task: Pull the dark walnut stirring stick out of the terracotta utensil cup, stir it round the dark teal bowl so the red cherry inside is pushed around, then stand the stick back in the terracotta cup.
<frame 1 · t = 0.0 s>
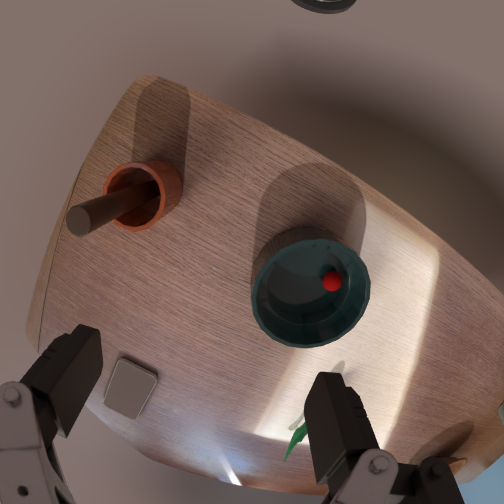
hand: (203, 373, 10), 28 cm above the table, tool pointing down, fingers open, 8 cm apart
utensil cup: (155, 187, 35), on the table
stirring stick: (154, 188, 35), point 1 cm above the table, touching utensil cup
smartphone: (129, 389, 46), on the table
mixing bowl: (304, 278, 39), on the table
bowl: (427, 464, 61), on the table
knife: (307, 414, 48), on the table
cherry: (332, 281, 37), point 2 cm above the table, touching mixing bowl
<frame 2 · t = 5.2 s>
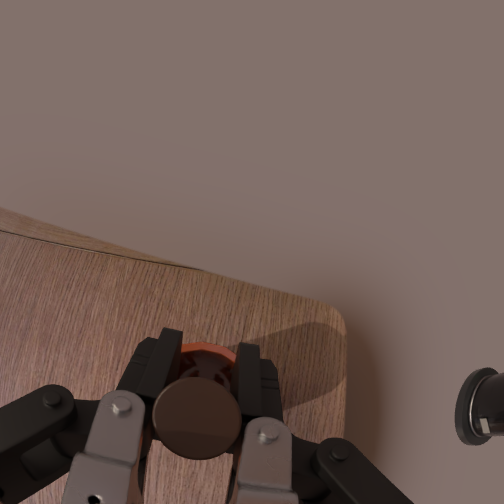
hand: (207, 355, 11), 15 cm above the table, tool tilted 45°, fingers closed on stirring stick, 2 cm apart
utensil cup: (202, 394, 23), on the table
stirring stick: (202, 395, 22), point 1 cm above the table, touching gripper, utensil cup
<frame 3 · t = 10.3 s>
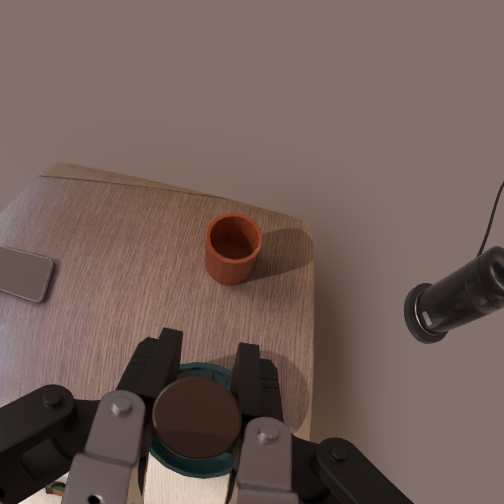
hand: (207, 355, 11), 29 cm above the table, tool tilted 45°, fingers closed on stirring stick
utensil cup: (229, 262, 44), on the table
stirring stick: (202, 395, 22), point 15 cm above the table, touching gripper
smartphone: (17, 273, 37), on the table
mixing bowl: (200, 417, 34), on the table
knife: (42, 476, 24), on the table
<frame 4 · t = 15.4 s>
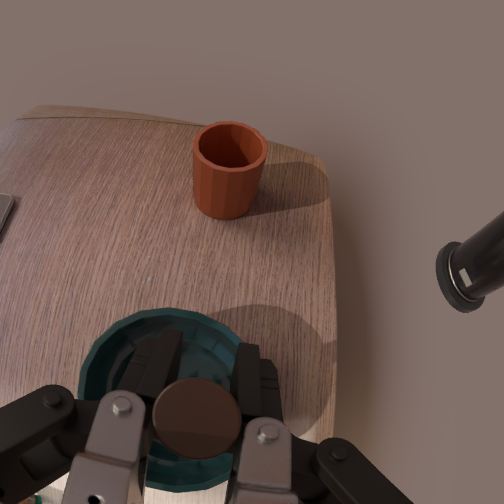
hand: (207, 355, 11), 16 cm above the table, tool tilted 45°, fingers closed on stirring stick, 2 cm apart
utensil cup: (223, 194, 34), on the table
stirring stick: (202, 395, 22), point 2 cm above the table, touching gripper
mixing bowl: (177, 399, 23), on the table
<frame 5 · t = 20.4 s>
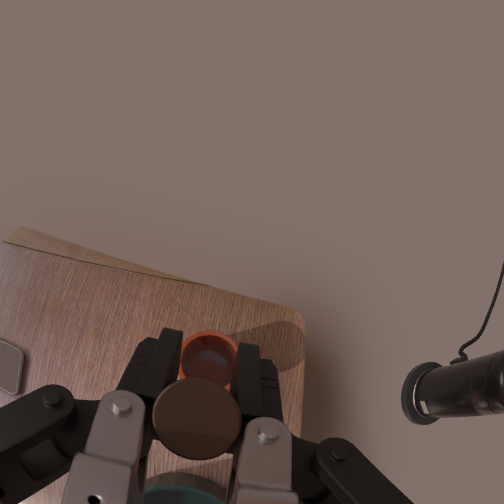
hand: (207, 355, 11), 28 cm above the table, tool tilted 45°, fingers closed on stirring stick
utensil cup: (208, 367, 37), on the table
stirring stick: (202, 395, 22), point 14 cm above the table, touching gripper
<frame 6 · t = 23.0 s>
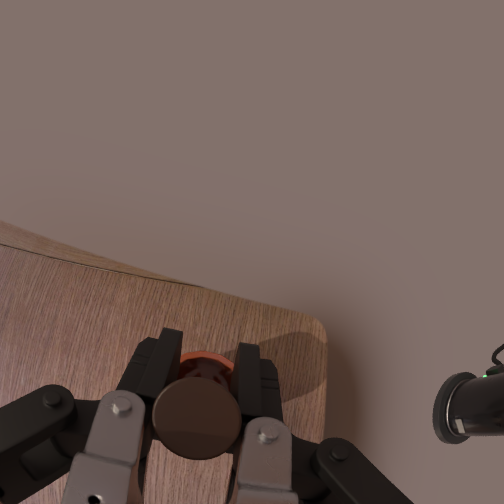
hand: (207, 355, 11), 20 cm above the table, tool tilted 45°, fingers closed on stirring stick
utensil cup: (203, 392, 27), on the table
stirring stick: (202, 395, 22), point 6 cm above the table, touching gripper
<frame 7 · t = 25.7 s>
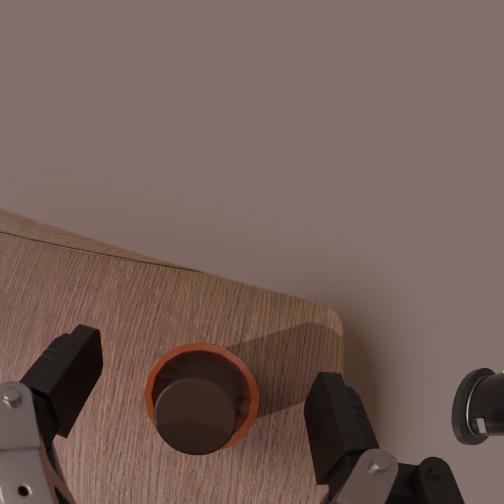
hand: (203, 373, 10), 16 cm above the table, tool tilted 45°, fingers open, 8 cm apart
utensil cup: (202, 394, 23), on the table
stirring stick: (202, 395, 23), point 1 cm above the table, touching utensil cup
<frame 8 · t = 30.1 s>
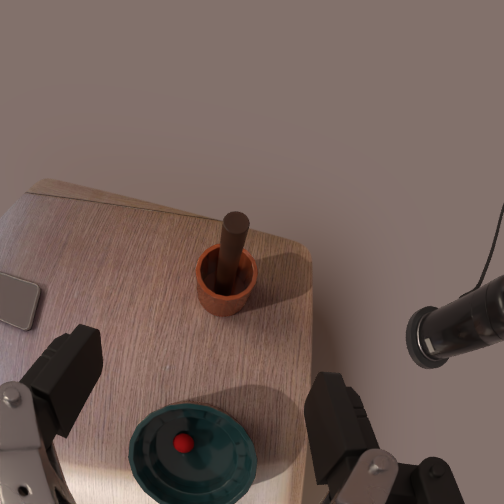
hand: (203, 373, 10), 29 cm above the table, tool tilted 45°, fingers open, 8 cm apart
utensil cup: (222, 292, 41), on the table
stirring stick: (222, 291, 40), point 1 cm above the table, touching utensil cup
smartphone: (4, 298, 34), on the table
mixing bowl: (193, 451, 31), on the table
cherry: (183, 443, 30), point 2 cm above the table, tilted 140°, touching mixing bowl
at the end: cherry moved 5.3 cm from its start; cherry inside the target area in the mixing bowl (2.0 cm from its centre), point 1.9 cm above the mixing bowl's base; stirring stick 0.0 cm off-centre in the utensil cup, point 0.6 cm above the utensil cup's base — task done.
